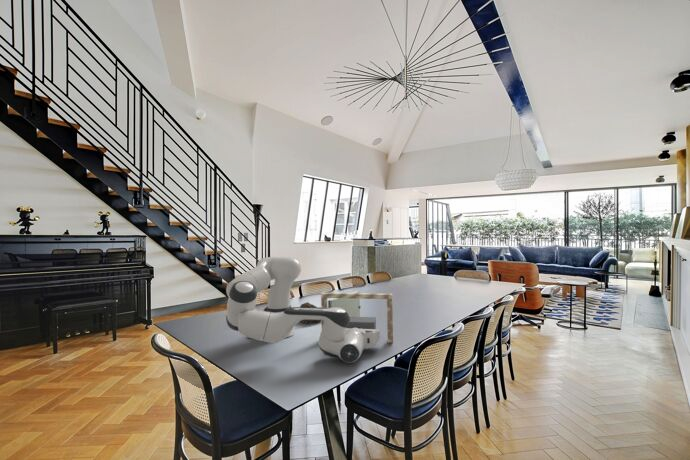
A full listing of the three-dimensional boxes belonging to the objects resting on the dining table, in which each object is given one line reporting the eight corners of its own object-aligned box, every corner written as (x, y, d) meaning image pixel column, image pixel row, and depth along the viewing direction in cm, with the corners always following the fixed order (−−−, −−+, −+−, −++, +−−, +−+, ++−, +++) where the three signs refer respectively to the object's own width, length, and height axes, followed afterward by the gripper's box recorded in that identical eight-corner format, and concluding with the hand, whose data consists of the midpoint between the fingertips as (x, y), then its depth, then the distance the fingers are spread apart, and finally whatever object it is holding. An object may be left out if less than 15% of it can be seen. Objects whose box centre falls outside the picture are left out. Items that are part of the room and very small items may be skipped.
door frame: (321, 340, 146) (321, 293, 146) (323, 338, 148) (322, 292, 149) (393, 343, 140) (392, 294, 141) (393, 341, 143) (392, 293, 143)
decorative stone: (324, 314, 170) (299, 304, 170) (317, 332, 171) (292, 322, 171) (327, 306, 186) (304, 297, 186) (321, 322, 187) (298, 313, 187)
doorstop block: (340, 340, 145) (340, 321, 146) (344, 334, 155) (343, 316, 155) (374, 341, 143) (374, 322, 143) (376, 335, 152) (375, 317, 152)
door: (331, 339, 145) (331, 301, 145) (326, 338, 147) (326, 300, 147) (361, 324, 168) (360, 291, 168) (356, 323, 170) (356, 291, 170)
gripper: (331, 345, 132) (337, 335, 146) (378, 347, 129) (380, 336, 142) (330, 330, 132) (337, 321, 146) (378, 332, 129) (380, 323, 142)
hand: (359, 329), depth 144 cm, fingers closed, pressing on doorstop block
